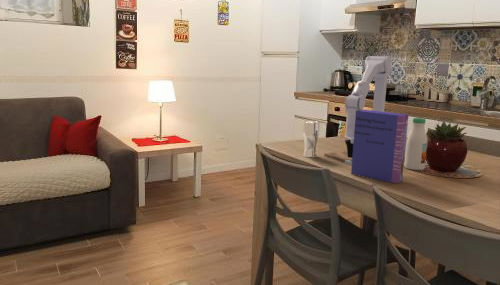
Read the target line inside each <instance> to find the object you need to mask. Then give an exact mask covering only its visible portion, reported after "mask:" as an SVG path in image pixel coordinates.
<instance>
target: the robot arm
mask: <svg viewBox="0 0 500 285" xmlns="http://www.w3.org/2000/svg"><path fill="white" fill-rule="evenodd" d="M392 68H393V61H392V59H391V57H390V56H388V55H386V56H383V55H381V56H380V55H367V57H366V58H365V61H364V69H365V70H364V73H363V75H362V78H361V80H360V81H359V80H358V81H357V83H356V84H355V86H354V88H353V89H352V92H351V94H349V95H348V96H346V97H345V101H344V107H345V114H346V117H345V118H346V122H345V133H344V138H345V139H344V142H345V145H346V151H347V154H348V157H349V158H352V156H353V143H354V130H355V117H356V110H364V108H365V105H366V100H367V99H366V97H367V95H368V93H369V91H370V89H371V86H370V84H371V82H372V81H373V79H374V78H375V81H374V92H373V105H372V111H379V112H385V108H386V106H385V105H386V94H387V85H388V76H390V75H391V72H392Z"/></svg>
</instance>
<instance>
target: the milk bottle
mask: <svg viewBox="0 0 500 285" xmlns="http://www.w3.org/2000/svg"><path fill="white" fill-rule="evenodd" d="M425 125H426V119H425V118H423V117H421V118H420V117H414V118H413V119H412V127H411V130H410V131H409V133H408V135H407V137H406V146H405V156H404V166H403V168H404V169H405V168H406V169H407V170H413V171H423V170H425V168H426V160H427V149H428V136H427V133H426V129H425Z"/></svg>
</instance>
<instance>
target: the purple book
mask: <svg viewBox="0 0 500 285" xmlns="http://www.w3.org/2000/svg"><path fill="white" fill-rule="evenodd" d="M409 117H410V115H409V114H406V113H405V114H404V113H396V112H386V111H384V112H379V111H373V110H371V109H370V110H368V109H362V110H356V117H355V130H354V143H353V156H352V165H351V170H350V171H351V172H350V175H352V174H356V175H355V176H357V175H360V176H359V177H362V176H364V177H363V178H366V177H368V178H367V179H370V180H371V179H372V180H376V181H381V182H384V183H386V182H387V183H391V184H395V185H396V184H397V185H398V184H399V183H401V182H403V176H404V175H403V173H404V162H405V152H406V143H407V137H408V135H407V133H408V124H409Z"/></svg>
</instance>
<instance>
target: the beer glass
mask: <svg viewBox="0 0 500 285" xmlns="http://www.w3.org/2000/svg"><path fill="white" fill-rule="evenodd" d="M320 135H321V122H320V121H317V120H305V121H304V124H303V142H304V151H303V157H305V158H317V157H318V144H319V141H320V140H319V139H320Z"/></svg>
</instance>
